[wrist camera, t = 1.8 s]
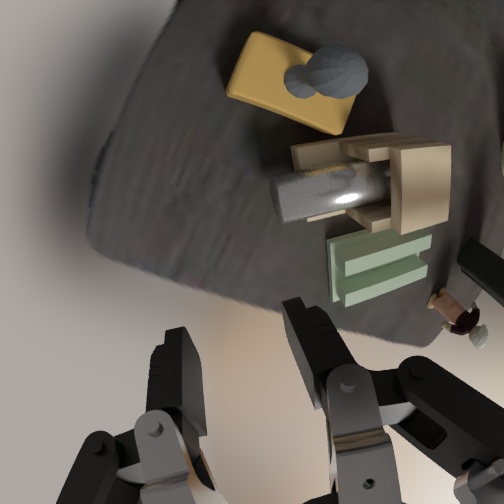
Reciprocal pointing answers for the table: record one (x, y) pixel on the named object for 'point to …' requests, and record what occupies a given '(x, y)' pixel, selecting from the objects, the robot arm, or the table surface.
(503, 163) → the reusable coffee cup
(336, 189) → the axle
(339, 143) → the beige block
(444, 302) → the grandmother figurine
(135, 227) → the table surface
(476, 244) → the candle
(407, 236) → the cradle
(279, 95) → the rubber stamp
